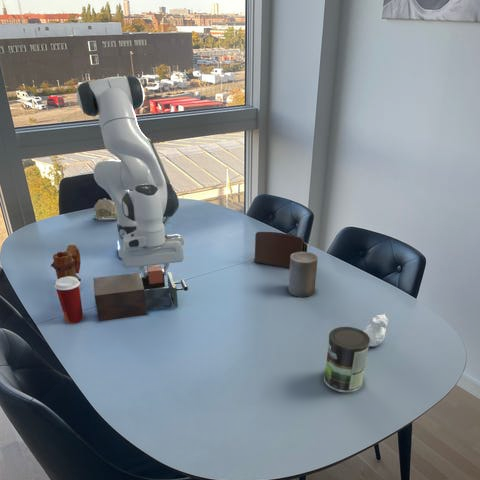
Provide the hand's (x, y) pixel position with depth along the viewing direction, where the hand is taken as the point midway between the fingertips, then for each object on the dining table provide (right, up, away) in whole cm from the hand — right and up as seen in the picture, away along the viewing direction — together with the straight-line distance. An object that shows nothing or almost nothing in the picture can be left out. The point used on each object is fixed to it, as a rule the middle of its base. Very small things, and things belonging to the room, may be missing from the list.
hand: (155, 275), depth 157 cm
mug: (-34, -3, +17) cm, 38 cm away
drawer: (+1, -8, +5) cm, 10 cm away
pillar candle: (+51, -5, +14) cm, 53 cm away
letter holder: (+46, +9, +38) cm, 60 cm away
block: (0, -2, +1) cm, 2 cm away
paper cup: (-26, -15, -4) cm, 30 cm away
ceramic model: (-41, +39, +87) cm, 103 cm away
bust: (+69, -22, -15) cm, 74 cm away
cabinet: (-12, -11, +3) cm, 16 cm away
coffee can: (+57, -32, -31) cm, 72 cm away
